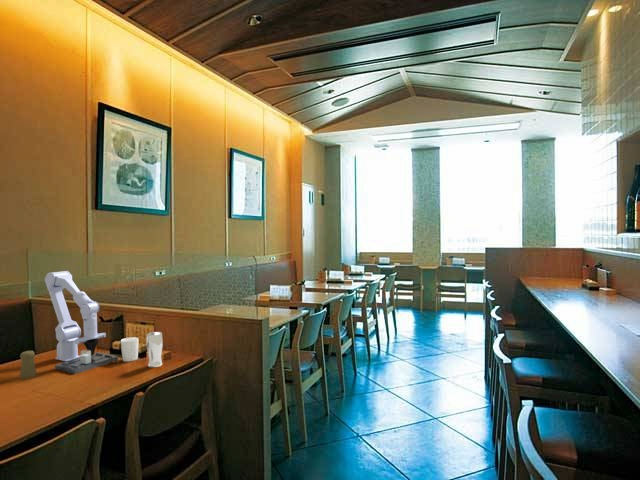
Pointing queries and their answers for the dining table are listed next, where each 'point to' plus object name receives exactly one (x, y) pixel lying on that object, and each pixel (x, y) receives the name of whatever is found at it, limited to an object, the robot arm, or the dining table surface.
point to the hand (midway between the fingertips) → (91, 354)
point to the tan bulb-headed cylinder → (27, 365)
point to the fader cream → (86, 352)
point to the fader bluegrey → (85, 358)
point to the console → (77, 366)
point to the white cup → (129, 348)
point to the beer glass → (154, 348)
